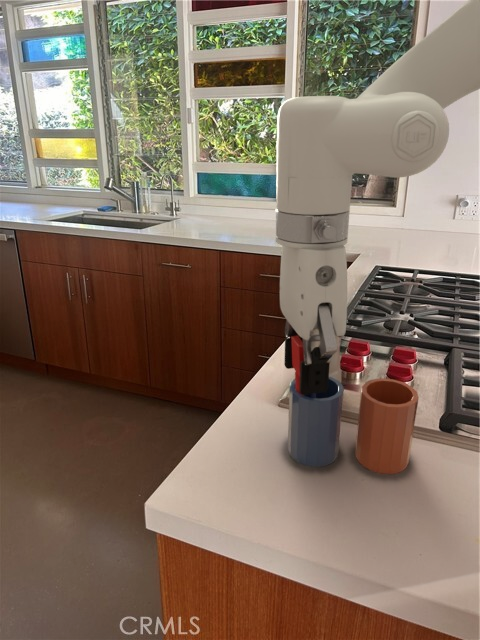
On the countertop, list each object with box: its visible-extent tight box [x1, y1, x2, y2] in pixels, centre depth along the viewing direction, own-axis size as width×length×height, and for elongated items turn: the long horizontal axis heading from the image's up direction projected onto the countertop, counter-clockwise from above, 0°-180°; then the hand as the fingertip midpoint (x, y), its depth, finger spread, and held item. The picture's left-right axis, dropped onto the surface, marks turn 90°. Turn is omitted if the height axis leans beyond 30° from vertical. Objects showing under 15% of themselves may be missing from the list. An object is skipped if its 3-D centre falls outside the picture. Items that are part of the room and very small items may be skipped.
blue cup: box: [287, 377, 344, 468], centre depth 58 cm, size 6×6×10 cm
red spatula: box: [291, 336, 304, 396], centre depth 56 cm, size 1×3×16 cm, turn 11°
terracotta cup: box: [354, 378, 420, 475], centre depth 57 cm, size 6×6×10 cm
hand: (305, 377), depth 55 cm, fingers open, 5 cm apart
